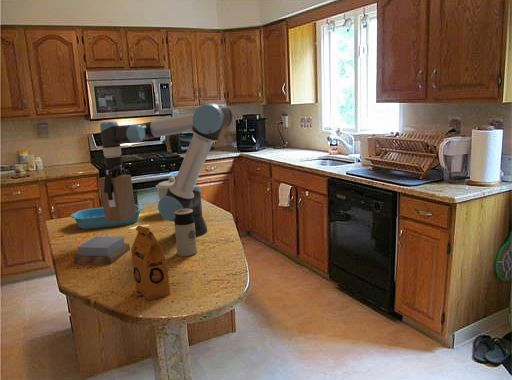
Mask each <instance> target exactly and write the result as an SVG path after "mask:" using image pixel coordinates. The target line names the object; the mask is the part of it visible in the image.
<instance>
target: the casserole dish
mask: <svg viewBox="0 0 512 380" xmlns="http://www.w3.org/2000/svg"><path fill="white" fill-rule="evenodd" d="M144 209H145V208H144V206H142V205H138V204H135V211H136V217H134V218H131V219H129V220H126V221H123V222H112V221H105V215H104V209H103V206H102V207H96V208H94V207H93V208H87V209H86V208H85V209H80V210H78V211H76V212H73V213H72V214H71V215H70V218H72V219H74V220H75V223H76V224H77V226H78V227H79V229H80V228H81V229H82V230H92V229H102V228H108V227H110V228H111V227H112V228H113V227H118V226H124V225H125V226H126V225H131V224H134V223H136V222H138V219H139V217H140V211H143V210H144Z"/></svg>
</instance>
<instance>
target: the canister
mask: <svg viewBox="0 0 512 380" xmlns="http://www.w3.org/2000/svg"><path fill="white" fill-rule="evenodd" d="M175 180H176V177H175V176H174V175H173V176H172V175H171V176H169V177H168V180H164V181H160V182H159V183H158V184H156V185H155V187H156V188H157V192H158V194H157V195H158V197H159V200H160V199H161V198H162V197H164V196H165V195H166V192H167V190H168V187H169V186H170V185H172V184H174V182H175Z"/></svg>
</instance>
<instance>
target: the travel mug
mask: <svg viewBox="0 0 512 380" xmlns="http://www.w3.org/2000/svg"><path fill="white" fill-rule="evenodd" d="M192 212H193V210H192V209H179V210H176V211H175V212H174V213H175V216H176V217H175V219H174V221H173V222H174V223H173V224H174V232H175V241H176V243H175V244H176V253H177V255H178V256H180V257H191V256H193V255H195V254H197V253H198V249H197V248H198V247H197V236H196V234H195V223H194V217H193V215H192Z"/></svg>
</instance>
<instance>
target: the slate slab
mask: <svg viewBox="0 0 512 380" xmlns="http://www.w3.org/2000/svg"><path fill="white" fill-rule="evenodd" d="M125 244H126V243H125V237H124V236H123V237H122V236H95V237H94V238H92V239H90V240H88V241H86V242H84V243H83V244H81V245H79V246H77V252H78V254H79V255H80V256H109V255H111V254H112V253H114V252H115V251H117V250H118V249H120V248H121V247H123V246H124V245H125Z"/></svg>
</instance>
